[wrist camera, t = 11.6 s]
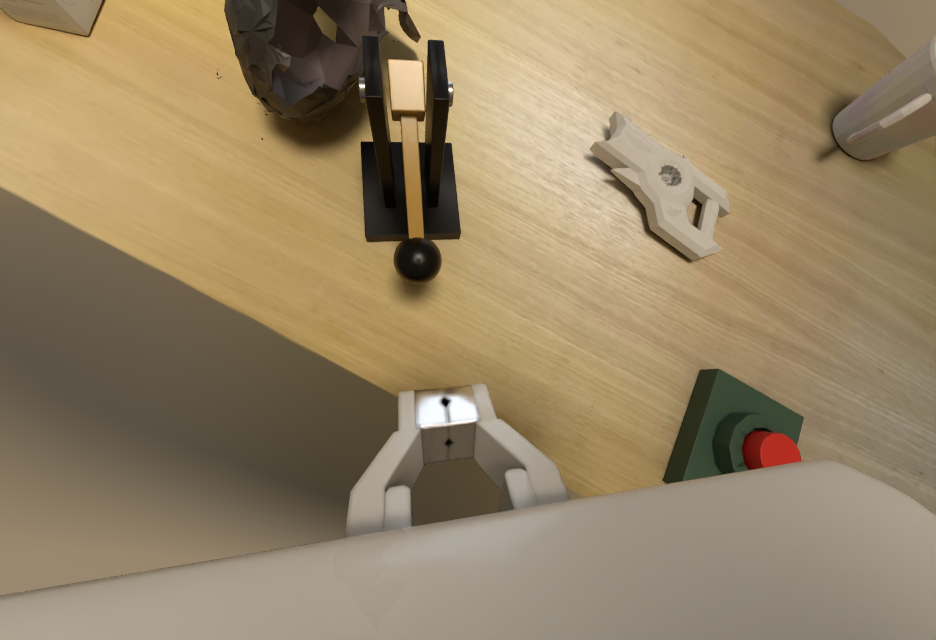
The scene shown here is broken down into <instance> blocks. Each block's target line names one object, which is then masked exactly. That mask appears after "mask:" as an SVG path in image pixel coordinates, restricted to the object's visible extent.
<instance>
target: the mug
mask: <svg viewBox="0 0 936 640" xmlns="http://www.w3.org/2000/svg"><path fill="white" fill-rule="evenodd" d="M833 133H834V136H835V139H836V141H837V142H838V144H839V146H840V147H841V148H842V149H843V150H844V151H845V152H846V153H848V154H849V155H851V156H852V157H854V158H857V159H860V160H871V159H874V158H876V157H879V156H881V155H884V154H887V153H889V152H892V151H895V150H897V149H900V148H903V147H905V146H908V145H910V144H913V143H916V142H918V141H921V140H924V139H926V138H929V137H932V136H934V135H936V35H935V36H934V37H933V38H931V39H930V40H929V41H928V42H927V43H925V44H924V45H923V46H921V47H920V48H919V49H918V50H916V51H915V52H914V53H913V54H911V55H910V56H909V57H908V58H907V59H905V60H904V61H903V62H902V63H900V64H899V65H898V66H897V67H895V68H894V69H893V70H892V71H890V72H889V73H888V74H887V75H885V76H884V77H883V78H882V79H880V80H879V81H878V82H877V83H875V84H874V85H873V86H872V87H870V88H869V89H868V90H867V91H865V92H864V93H863V94H862V95H860V96H859V97H858V98H857V99H856V100H854V101H853V102H852V103H851V104H849V105H848V106H847V107H846V108H844V109H843V110H842V111H841V112H840V113H839V114H838V115H837V116H836V117H835V118H834V121H833Z"/></svg>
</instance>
